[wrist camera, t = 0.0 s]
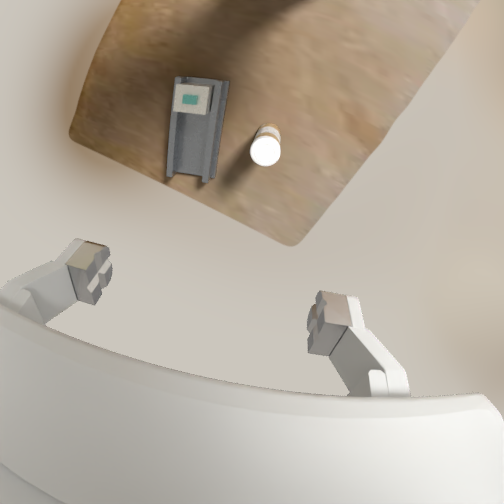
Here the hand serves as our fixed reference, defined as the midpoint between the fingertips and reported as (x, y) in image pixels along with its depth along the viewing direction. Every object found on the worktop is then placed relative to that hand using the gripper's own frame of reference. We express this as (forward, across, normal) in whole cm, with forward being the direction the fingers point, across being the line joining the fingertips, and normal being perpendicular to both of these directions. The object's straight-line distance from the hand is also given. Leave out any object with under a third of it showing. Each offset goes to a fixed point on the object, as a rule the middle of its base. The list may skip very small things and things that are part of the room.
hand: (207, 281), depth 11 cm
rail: (+48, +13, +6) cm, 50 cm away
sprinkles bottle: (+48, -1, +5) cm, 49 cm away
